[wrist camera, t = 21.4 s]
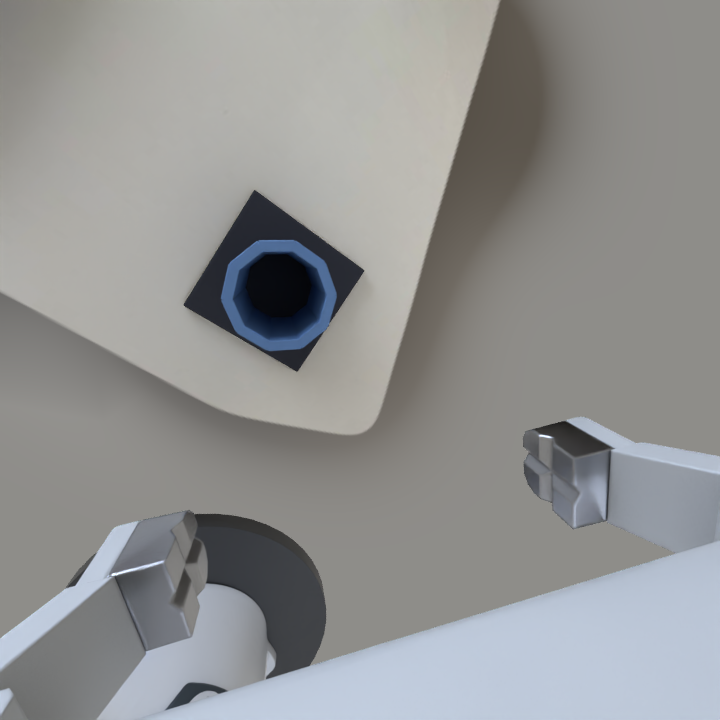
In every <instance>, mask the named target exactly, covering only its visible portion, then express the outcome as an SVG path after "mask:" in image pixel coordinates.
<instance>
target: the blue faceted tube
mask: <svg viewBox="0 0 720 720" xmlns="http://www.w3.org/2000/svg"><path fill="white" fill-rule="evenodd" d="M266 254H288V255H289V256H291V257H292V258H294V259H295V260H296V261H298V262H299V263H301V264H302V265H304V266H305V269H306V271H307V274H308V277H309V279H310V282H311V285H312V286H311V290H310V294H309V297H308V301H307V305H305V306H304V307H303V308H302V309H300V310H299V311H298V312H297V313H295V314H294V315H293V316H292V317H273V318H271V317H269V316H268V315H266V314H265V313H263V312H261V311H260V310H258V309H257V308H255V307H254V306H253V304H252V302H251V299H250V297H249V295H248V292H247V290H246V288H245V287H246V283H247V278H248V274H249V270H250V267H251V266H252V265H254V264H255V263H256V262H257V261H259V260H260V259H261V258H262V257H264V256H265V255H266ZM324 262H325V261H324V260H322V259H321V258H320V257H318V256H317V255H315V254H314V253H313V252H311V251H310V250H308V249H307V248H306V247H304V246H303V245H301V244H300V243H299V242H297V241H294V240H259V241H256V242H255V243H254V244H252V245H251V246H250V247H249V248H247V249H246V250H245V251H244V252H242V253H241V254H240V255H239V256H237V257H236V258H235V259H234V260H232V261H231V262H230V264H229V265H228V268H227V273H226V277H225V282H224V286H223V291H222V295H221V299H222V300H221V301H222V303H223V306H224V308H225V310H226V312H227V314H228V317H229V319H230V321H231V323H232V325H233V327H234V330H235V331H236V332H237V334H239V335H240V336H242V337H244V338H246V339H247V340H249V341H251V342H252V343H254V344H256V345H257V346H259V347H261V348H263V349H264V350H268V351H278V350H293V349H301V348H303V347H305V346H306V345H307V344H308V343H310V342H311V341H312V340H313V339H315V338H316V337H317V336H318V335H320V334H321V333H322V332H323V331H325V330H326V329H327V327H328V326H329V323H330V319H331V316H332V312H333V309H334V305H335V301H336V298H337V296H336V295H337V293H336V290H335V287H334V284H333V282H332V279H331V276H330V273H329V270H328V268H327V265H326V263H324Z"/></svg>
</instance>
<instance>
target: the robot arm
mask: <svg viewBox="0 0 720 720" xmlns="http://www.w3.org/2000/svg"><path fill="white" fill-rule="evenodd" d="M523 447H524V448H525V449H526V450H527V451H528V452H529V454H528V455H527V457H526V459H525V461H524V474H525V477H526V480H527V482H528V485H529V486H530V488H531V489H532V491H533V492H534V493H535V494H536V495H537V496H538V497H539V498H540V499H543V500H545V501H548V502H551V503H552V508H553V511H554V512H555V513H556V514H557V515H558V516H559V517H560V518H561V519H562V520H564V521H565V522H566V523H567V524H568V525H569V526H570V527H571V528H572V529H576V528H580V527H584V526H588V525H592V524H596V523H600V522H604V521H607V523H609V524H611V525H614V526H616V527H618V528H621V529H623V530H625V531H627V532H629V533H632V534H634V535H636V536H638V537H641V538H643V539H645V540H647V541H649V542H652V543H654V544H656V545H659V546H661V547H663V548H665V549H667V550H670V551H672V552H674V553H676V554H673V555H670V556H667V557H664V558H660V559H657V560H654V561H651V562H647V563H644V564H641V565H637V566H634V567H631V568H628V569H624V570H622V571H618V572H615V573H611V574H608V575H605V576H602V577H598V578H595V579H592V580H589V581H585V582H582V583H579V584H575V585H572V586H569V587H566V588H563V589H560V590H556V591H553V592H549V593H546V594H543V595H540V596H536V597H533V598H530V599H527V600H523V601H520V602H517V603H513V604H510V605H507V606H504V607H501V608H497V609H494V610H490V611H487V612H484V613H481V614H478V615H474V616H471V617H468V618H465V619H461V620H458V621H454V622H451V623H448V624H445V625H441V626H438V627H435V628H432V629H428V630H425V631H422V632H418V633H415V634H412V635H409V636H405V637H402V638H399V639H395V640H392V641H389V642H386V643H382V644H379V645H376V646H373V647H369V648H366V649H363V650H360V651H357V652H353V653H350V654H347V655H343V656H340V657H337V658H334V659H331V660H327V661H324V662H321V663H318V664H315V665H311V666H308V667H305V668H301V669H298V670H295V671H292V672H288V673H285V674H282V675H279V676H276V677H272V678H269V679H266V676H267V675H268V674H269V673H270V672H271V671H272V670H273V669H274V668H275V664H276V652H275V650H274V648H273V647H272V645H271V644H270V643H269V641H268V639H267V628H266V621H265V617H264V614H263V612H262V610H261V609H260V607H259V606H258V605H257V603H256V602H255V601H254V600H253V599H251V598H250V597H249V596H247V595H246V594H244V593H242V592H241V591H239V590H236V589H234V588H231V587H228V586H223V585H218V584H206V580H207V574H208V560H207V553H206V549H205V546H204V542H203V541H201V540H200V539H198V538H197V537H195V533H196V530H197V527H198V524H197V521H196V518H195V516H194V513H192V512H191V511H190V510H187V511H182V512H177V513H172V514H168V515H163V516H159V517H154V518H150V519H145V520H142V521H141V520H140V521H135V522H131V523H127V524H124V525H119V526H117V527H115V528H113V530H112V531H111V533H110V534H109V536H108V537H107V539H106V540H105V542H104V543H103V545H102V546H101V548H100V549H99V551H98V552H97V554H96V555H95V557H94V558H93V560H92V561H91V563H90V564H89V566H88V567H87V569H86V570H85V572H84V573H83V575H82V577H81V578H80V580H79V581H78V583H77V584H76V586H73V587H69V588H66V589H65V590H63V591H62V592H61V593H60V594H58V595H57V596H56V597H54V598H53V599H52V600H50V601H49V602H48V603H46V604H45V605H44V606H42V607H41V608H40V609H39V610H37V611H36V612H34V613H33V614H32V615H31V616H29V617H28V618H27V619H25V620H24V621H23V622H21V623H20V624H19V625H17V626H16V627H15V628H13V629H12V630H11V631H9V632H8V633H7V634H5V635H4V636H3V637H2V638H0V720H720V456H714V455H709V454H703V453H698V452H692V451H687V450H682V449H676V448H671V447H665V446H660V445H654V444H649V443H644V442H642V443H637V444H636V443H634V442H633V441H630V440H629V439H627V438H625V437H623V436H621V435H619V434H617V433H615V432H613V431H611V430H609V429H607V428H605V427H603V426H601V425H599V424H598V423H596V422H594V421H592V420H590V419H588V418H586V417H576V418H572V419H569V420H565V421H561V422H558V423H555V424H551V425H547V426H543V427H540V428H536V429H532V430H528V431H525V434H524V437H523Z"/></svg>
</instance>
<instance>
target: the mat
mask: <svg viewBox="0 0 720 720" xmlns="http://www.w3.org/2000/svg"><path fill="white" fill-rule="evenodd" d="M259 240H294V241H297V242H299V243H300V244H301V245H303V246H304V247H306V248H307V249H308V250H310V251H311V252H313V253H314V254H315V255H317V256H318V257H320V258H321V259H322V260H324V261H325V262H324V263H326V265H327V268H328V270H329V273H330V276H331V279H332V282H333V284H334V287H335V290H336V293H337V295H336V296H337V298H336V301H335V305H334V309H333V312H332V316H331V319H330V322H331V320H332V319H333V317H334V316H335V314H336V313H337V311H338V310H339V308H340V307H341V305H342V304H343V302H344V301H345V299H346V298H347V296H348V295H349V293H350V292H351V290H352V289H353V287H354V286H355V284H356V283H357V281H358V280H359V278H360V277H361V275H362V274H363V272H364V270H363V269H362V268H360V267H359V266H357V265H356V264H355V263H353V262H352V261H351V260H349V259H348V258H347V257H345V256H344V255H342V254H341V253H340V252H338V251H337V250H336V249H334V248H333V247H332V246H330V245H329V244H328V243H326V242H325V241H323V240H322V239H321V238H319V237H318V236H317V235H315V234H314V233H313V232H311V231H310V230H308V229H307V228H306V227H304V226H303V225H302V224H300V223H299V222H298V221H296V220H295V219H294V218H292V217H291V216H289V215H288V214H287V213H285V212H284V211H283V210H281V209H280V208H279V207H277V206H276V205H274V204H273V203H272V202H270V201H269V200H268V199H266V198H265V197H264V196H262V195H261V194H260V193H258V192H257V191H255V190H254V192H253V193H252V195H251V196H250V198H249V200H248V201H247V203H246V205H245V206H244V208H243V209H242V211H241V213H240V214H239V216H238V218H237V219H236V221H235V222H234V224H233V226H232V227H231V229H230V230H229V232H228V234H227V235H226V237H225V239H224V240H223V242H222V243H221V245H220V247H219V248H218V250H217V252H216V253H215V255H214V256H213V258H212V260H211V261H210V263H209V265H208V266H207V268H206V269H205V271H204V273H203V274H202V276H201V278H200V279H199V281H198V282H197V284H196V286H195V287H194V289H193V290H192V292H191V294H190V295H189V297H188V299H187V300H186V302H185V303H184V306H185V307H187V308H189V309H190V310H192V311H194V312H196V313H197V314H199V315H201V316H202V317H204V318H206V319H208V320H209V321H211V322H213V323H214V324H216V325H218V326H220V327H221V328H223V329H225V330H226V331H228V332H230V333H232V334H233V335H235V336H237V337H238V338H240V339H242V340H244V341H245V342H247V343H249V344H250V345H252V346H254V347H256V348H257V349H259V350H261V351H262V352H264V353H266V354H268V355H269V356H271V357H273V358H274V359H276V360H278V361H280V362H281V363H283V364H285V365H286V366H288V367H290V368H292V369H293V370H295V371H298V370H299V368H300V367H301V365H302V364H303V362H304V361H305V359H306V358H307V356H308V355H309V353H310V352H311V350H312V349H313V347H314V346H315V344H316V343H317V341H318V340H319V338H320V337H321V335H322V334H323V332H324V331H323V332H322V333H321V334H320V335H318V336H317V337H316V338H315V339H313V340H312V341H311V342H310V343H308V344H307V345H306V346H305V347H303V348H301V349H293V350H278V351H268V350H264V349H263V348H261V347H259V346H257V345H256V344H254V343H252V342H251V341H249V340H247V339H246V338H244V337H242V336H240V335H239V334H237V332H236V331H235V330H234V327H233V325H232V323H231V321H230V319H229V317H228V314H227V312H226V310H225V308H224V306H223V303H222V301H221V300H222V299H221V295H222V291H223V286H224V282H225V277H226V273H227V268H228V265H229V264H230V262H231V261H232V260H234V259H235V258H236V257H237V256H239V255H240V254H241V253H242V252H244V251H245V250H246V249H247V248H249V247H250V246H251V245H252V244H254V243H255V242H256V241H259ZM311 286H312V285H311V282H310V279H309V277H308V274H307V271H306V269H305V266H304V265H302V264H301V263H299V262H298V261H296V260H295V259H294V258H292V257H291V256H289V255H288V254H266V255H265V256H264V257H262V258H261V259H260V260H259V261H257V262H256V263H255V264H254V265H252V266H251V267H250V270H249V274H248V278H247V283H246V287H245V288H246V290H247V292H248V295H249V297H250V299H251V302H252V304H253V306H254V307H255V308H257V309H258V310H260V311H261V312H263V313H265V314H266V315H268V316H269V317H271V318H273V317H292V316H293V315H294V314H295V313H297V312H298V311H299V310H300V309H302V308H303V307H304V306H305V305H307V301H308V297H309V294H310V290H311Z"/></svg>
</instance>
